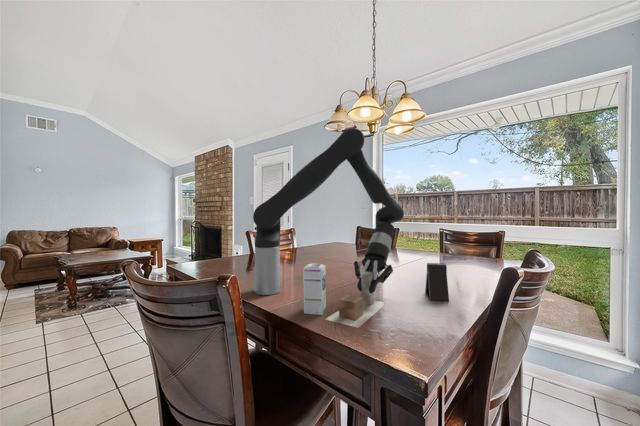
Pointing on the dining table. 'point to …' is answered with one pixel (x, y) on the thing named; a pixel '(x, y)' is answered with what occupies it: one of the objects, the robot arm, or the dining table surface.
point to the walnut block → (351, 307)
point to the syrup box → (314, 289)
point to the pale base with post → (368, 304)
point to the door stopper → (437, 282)
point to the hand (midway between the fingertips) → (365, 291)
